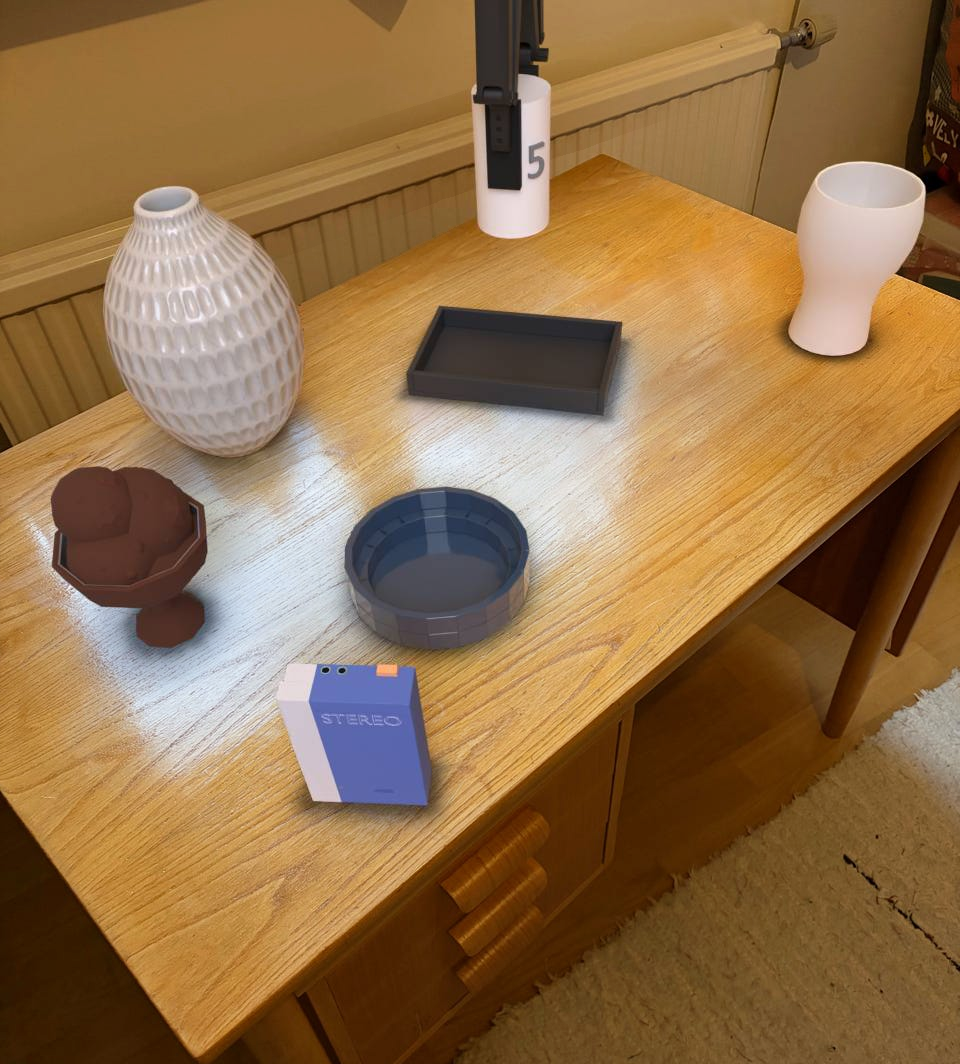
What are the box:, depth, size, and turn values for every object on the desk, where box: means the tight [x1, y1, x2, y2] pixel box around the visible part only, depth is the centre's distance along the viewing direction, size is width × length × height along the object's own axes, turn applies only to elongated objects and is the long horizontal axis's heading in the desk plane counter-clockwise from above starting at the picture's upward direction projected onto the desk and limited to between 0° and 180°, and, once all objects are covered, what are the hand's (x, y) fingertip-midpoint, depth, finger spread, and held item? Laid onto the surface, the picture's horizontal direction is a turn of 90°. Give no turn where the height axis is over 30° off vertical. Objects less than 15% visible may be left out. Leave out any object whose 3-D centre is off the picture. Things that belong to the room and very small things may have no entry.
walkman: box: [275, 662, 433, 806], centre depth 57 cm, size 8×3×12 cm, turn 86°
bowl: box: [343, 486, 531, 651], centre depth 71 cm, size 14×14×4 cm
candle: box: [470, 74, 552, 240], centre depth 74 cm, size 6×6×15 cm
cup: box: [787, 161, 927, 357], centre depth 87 cm, size 11×11×15 cm
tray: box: [406, 305, 623, 416], centre depth 90 cm, size 19×12×2 cm, turn 77°
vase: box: [102, 185, 306, 459], centre depth 78 cm, size 16×16×22 cm
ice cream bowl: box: [50, 465, 209, 649], centre depth 66 cm, size 11×11×15 cm
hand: (513, 168), depth 76 cm, fingers closed on candle, 6 cm apart
